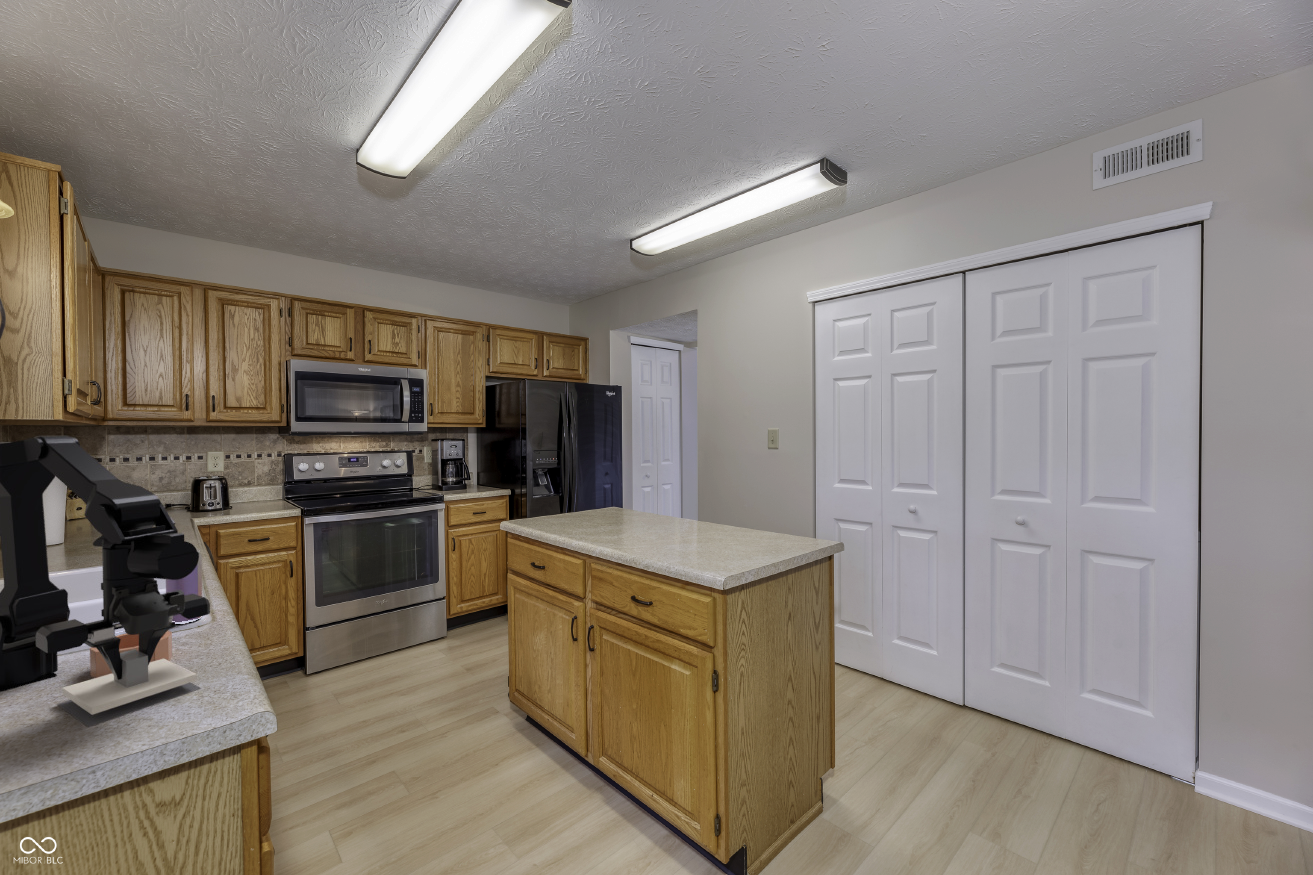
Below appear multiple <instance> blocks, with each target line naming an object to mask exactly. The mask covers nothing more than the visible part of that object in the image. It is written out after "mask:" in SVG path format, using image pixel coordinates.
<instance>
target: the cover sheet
mask: <svg viewBox="0 0 1313 875" xmlns="http://www.w3.org/2000/svg"><path fill="white" fill-rule="evenodd" d="M120 658H121V665H122V679H120V680H117V679H116V678H115V676H114V675H113V673H112V674H108V675H105V676H101V677H98V678H94V677H93V678H91V679H88V680H85V681H81V682H77V683H75V684H71V685H67V686H64V687H62V695H63V696H64V697H66V698H68V700H71V701H73V702H74V703H76V704H77V705H79V706H80V707H81V708H83V709H84V710H86V711H87V712H89V713H90V714H91V715H93V714H96V713H99V712H102V711H105V710H108V709H111V708H114V707H117V706H120V705H123V704H126V703H129V702H132V701H135V700H138V699H141V698H144V697H147V696H150V695H153V694H156V693H159V692H162V691H166V690H169V689H172V688H175V687H178V686H181V685H184V684H187V683H192V682H196V681H197V673H195V672H193V671H191V670H189V669H187V668H184V667H183V666H180V665H178V664H176V663H174V662H172V661H171V660H170V661H168V660H166V659H164V658H163V659H160V660H157V661H153V662H150V663H149V665H148V655H146V654H144V653H142V652H140V651H138V650H136V649H133V650H129V651H126V652H122V653H120Z"/></svg>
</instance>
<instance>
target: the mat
mask: <svg viewBox="0 0 1313 875" xmlns="http://www.w3.org/2000/svg"><path fill="white" fill-rule="evenodd" d="M201 689H202V687H200V686H199V685H196V684H194V683H192V682H190V683H187V684H184V685H181V686H178V687H175V688H172V689H169V690H166V691H162V692H159V693H156V694H153V695H150V696H147V697H144V698H141V699H138V700H135V701H132V702H129V703H126V704H123V705H120V706H117V707H114V708H111V709H108V710H105V711H102V712H99V713H96V714H93V715H91V714H90V713H89V712H87V711H86V710H84V709H83V708H81V707H80V706H79V705H77V704H76V703H74V702H73V701H71V700H70V699H68V700H65V701H62V702H59V703H56V705H57V706H58V707H60V708H61V709H62V710H64V711H65V712H66V713H68V714H69V715H70V716H72V717H73V718H74V719H76V720H77V721H79V722H80V723H81V724H83V725H84V726H86V727H87V728H90V727H94V726H97V725H99V724H102V723H106V722H108V721H111V720H114V719H117V718H120V717H122V716H126V715H129V714H131V713H134V712H138V711H140V710H143V709H146V708H150V707H152V706H154V705H158V704H160V703H163V702H166V701H169V700H172V699H175V698H178V697H181V696H183V695H186V694H189V693H193V692H195V691H199V690H201Z"/></svg>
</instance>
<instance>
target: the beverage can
mask: <svg viewBox="0 0 1313 875" xmlns="http://www.w3.org/2000/svg"><path fill="white" fill-rule="evenodd" d="M196 550H197V552H198V553H199V561H198V564H197V566H196V568H195V569H194V570H193V571H192V572H191V574H189V575H188V576H186V577H184V578H182V579H178V580H168V579H165V593H168V592H173V591H177V590H182V592H183V593H184V595H189V594H196V595H199V596H202V597H203V555H202V554H201V550H200V549H196ZM200 617H201V616H200ZM200 617H196V618H192V619H187V618H185V617H183V616H181V614H179V615H175V616H173V619H172V621H175V622H182V621H188V620H193V619H198V618H200ZM201 618H202V617H201ZM201 618H200V619H201ZM175 622H173V623H175Z"/></svg>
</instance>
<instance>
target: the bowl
mask: <svg viewBox="0 0 1313 875" xmlns="http://www.w3.org/2000/svg"><path fill="white" fill-rule="evenodd" d="M115 636H116V637H118V638H120V639H121V641H120V645H119V651H120V653H122V652H126V651H129V650H133V649H136V650H138V651H139V634H136V635H129V634H127V633H126V632H125V633H122V634H119V635H115ZM163 658H164V659H166V660H168V661H170V662H171V660H172V659H173V632H172V631H170V630H168V631H167V632H166V633H165V634H164V635H163V636H162V637H161V639H160V641H159V642H158V644H157V646H156V649H155V651H154V653H153V656H152V658H151V661H150V662H153V661H157V660H160V659H163ZM89 662H90V663H89V667H90V668H89V669H90V673H89V674H90V677H92V678H93V679H94V678H98V677H101V676H105V675H108V674H112V671H111V669H110V668H109V666H108V664H107V663H106V661H105V659H104V658H103V656H102V654H101V653H100V652H99V651H98V650H97V648H92V647H90V648H89Z"/></svg>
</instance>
